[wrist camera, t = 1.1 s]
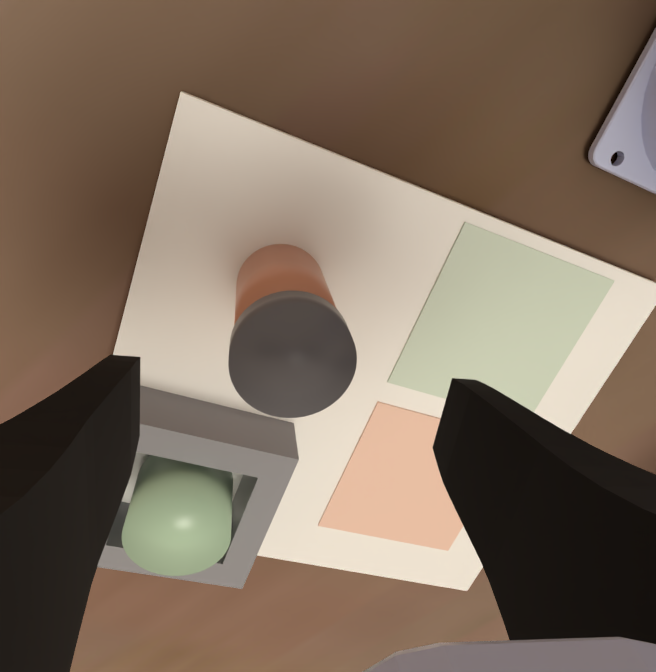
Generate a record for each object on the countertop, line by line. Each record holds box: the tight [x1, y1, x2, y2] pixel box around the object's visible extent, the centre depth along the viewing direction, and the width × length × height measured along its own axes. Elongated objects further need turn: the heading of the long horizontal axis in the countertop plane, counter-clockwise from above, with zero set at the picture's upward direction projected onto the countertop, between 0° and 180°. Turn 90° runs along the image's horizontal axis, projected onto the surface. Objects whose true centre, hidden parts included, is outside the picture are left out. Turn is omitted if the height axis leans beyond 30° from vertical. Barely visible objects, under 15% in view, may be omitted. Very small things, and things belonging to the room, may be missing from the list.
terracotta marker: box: [228, 244, 357, 418], centre depth 17 cm, size 3×3×6 cm
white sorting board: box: [97, 91, 656, 591], centre depth 21 cm, size 20×18×3 cm
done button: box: [122, 455, 233, 576], centre depth 20 cm, size 4×4×3 cm
